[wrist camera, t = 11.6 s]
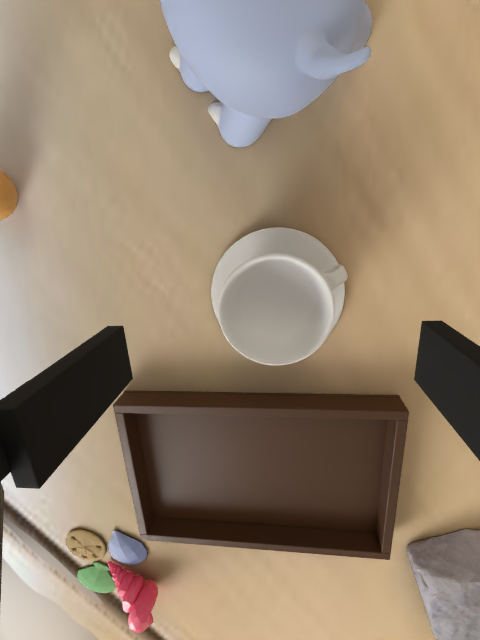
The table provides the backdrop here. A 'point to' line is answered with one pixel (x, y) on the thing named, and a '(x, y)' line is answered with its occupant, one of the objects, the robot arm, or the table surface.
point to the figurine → (7, 196)
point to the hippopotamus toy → (264, 55)
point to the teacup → (277, 295)
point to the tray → (265, 469)
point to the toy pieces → (116, 573)
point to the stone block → (449, 582)
